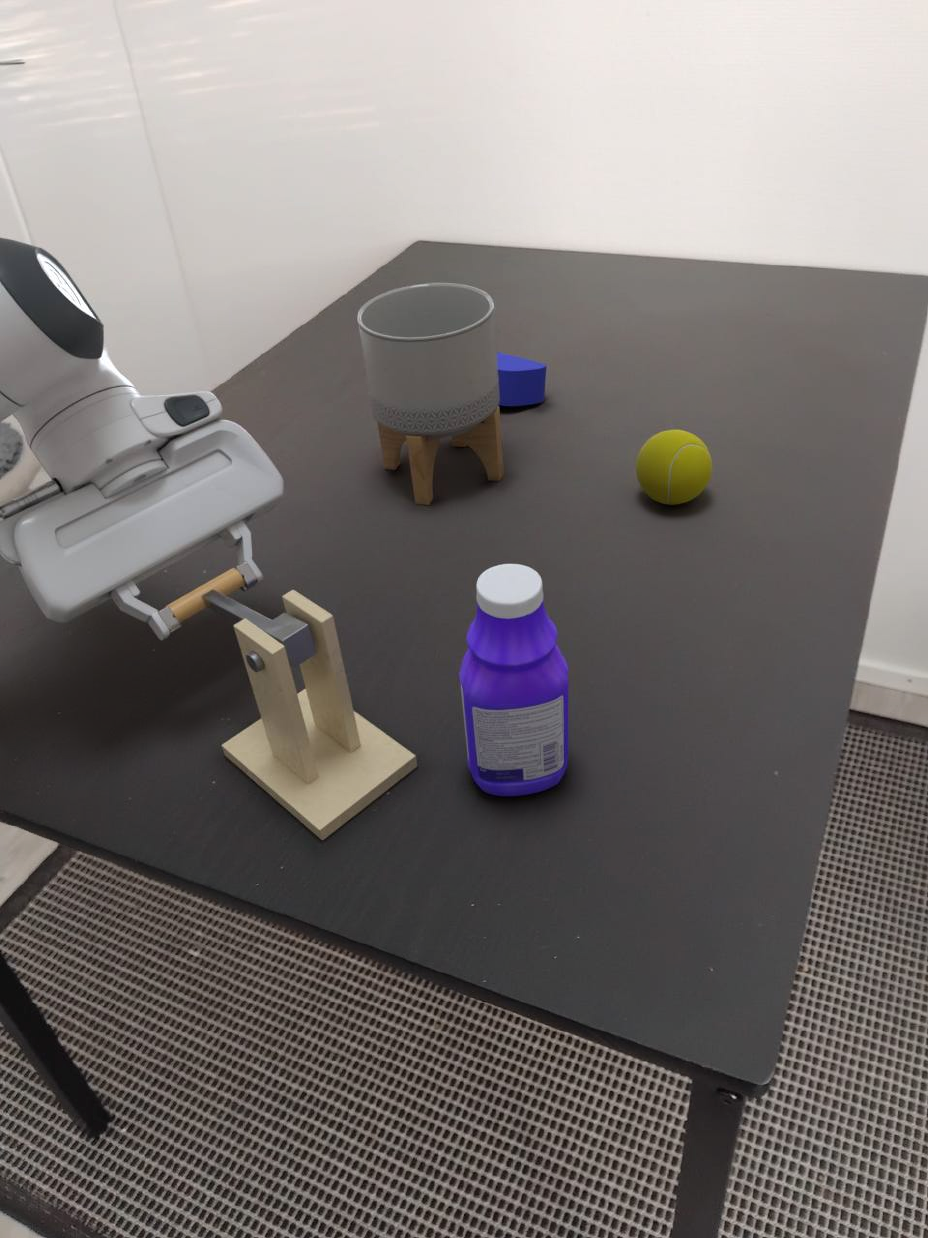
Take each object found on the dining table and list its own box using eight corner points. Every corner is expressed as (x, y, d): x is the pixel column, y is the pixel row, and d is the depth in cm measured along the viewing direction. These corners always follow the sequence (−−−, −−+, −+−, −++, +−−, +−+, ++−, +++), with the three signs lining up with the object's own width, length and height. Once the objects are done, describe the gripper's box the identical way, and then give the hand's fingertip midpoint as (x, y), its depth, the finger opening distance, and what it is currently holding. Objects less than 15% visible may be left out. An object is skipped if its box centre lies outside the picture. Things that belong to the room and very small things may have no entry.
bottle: (561, 735, 73) (556, 546, 62) (576, 794, 69) (575, 602, 58) (464, 749, 73) (443, 562, 62) (474, 809, 68) (453, 618, 57)
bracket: (224, 755, 74) (176, 616, 66) (317, 692, 79) (283, 554, 70) (322, 841, 67) (282, 698, 59) (417, 766, 72) (394, 623, 63)
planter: (482, 511, 97) (468, 342, 86) (363, 497, 101) (334, 333, 90) (518, 446, 106) (510, 285, 95) (408, 435, 110) (387, 279, 99)
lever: (171, 625, 73) (159, 599, 71) (237, 587, 76) (228, 560, 74) (269, 685, 64) (258, 655, 62) (339, 638, 67) (330, 609, 65)
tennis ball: (723, 502, 95) (729, 438, 91) (665, 526, 93) (669, 462, 88) (677, 471, 100) (681, 409, 95) (621, 493, 98) (622, 431, 93)
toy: (450, 390, 121) (435, 415, 113) (452, 345, 118) (436, 367, 110) (547, 399, 119) (538, 424, 111) (551, 353, 116) (542, 376, 108)
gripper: (-26, 500, 65) (94, 673, 65) (230, 383, 75) (332, 533, 75) (-26, 531, 70) (84, 691, 71) (212, 419, 80) (307, 559, 81)
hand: (214, 608), depth 73 cm, fingers closed on lever, 6 cm apart
